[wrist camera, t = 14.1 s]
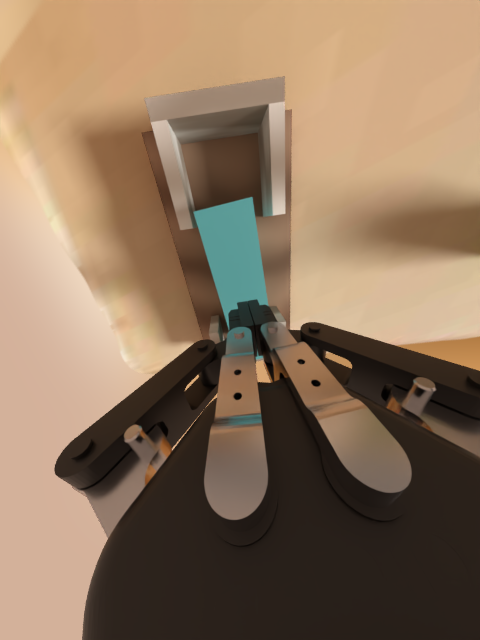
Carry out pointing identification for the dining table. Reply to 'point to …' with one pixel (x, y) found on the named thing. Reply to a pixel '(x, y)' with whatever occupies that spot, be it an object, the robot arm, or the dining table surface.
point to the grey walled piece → (225, 181)
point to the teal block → (233, 253)
